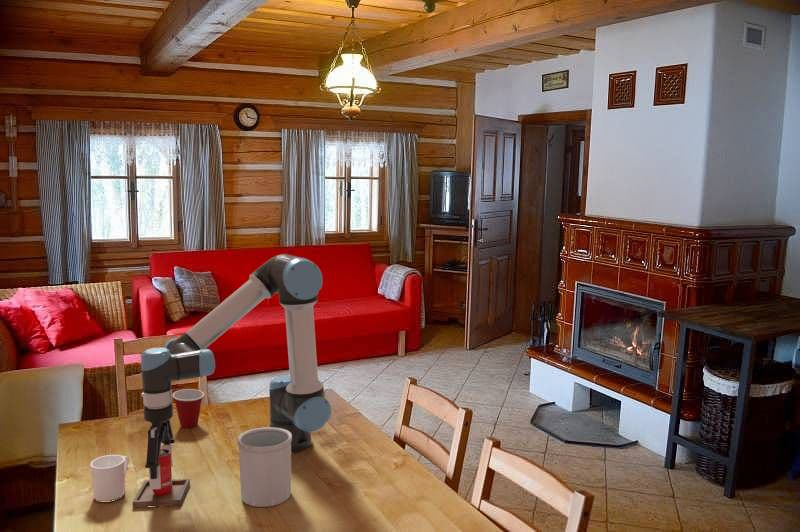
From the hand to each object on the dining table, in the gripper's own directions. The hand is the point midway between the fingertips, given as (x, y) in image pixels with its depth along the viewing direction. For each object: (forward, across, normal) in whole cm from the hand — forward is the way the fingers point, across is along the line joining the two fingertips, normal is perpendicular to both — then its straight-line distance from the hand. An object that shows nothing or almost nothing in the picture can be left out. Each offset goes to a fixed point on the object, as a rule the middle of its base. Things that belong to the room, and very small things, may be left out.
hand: (161, 477), depth 191 cm
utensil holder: (+6, +2, +29) cm, 30 cm away
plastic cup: (+6, -52, -3) cm, 52 cm away
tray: (+6, 0, 0) cm, 6 cm away
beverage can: (+5, 0, 0) cm, 5 cm away
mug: (+6, -2, -14) cm, 15 cm away
